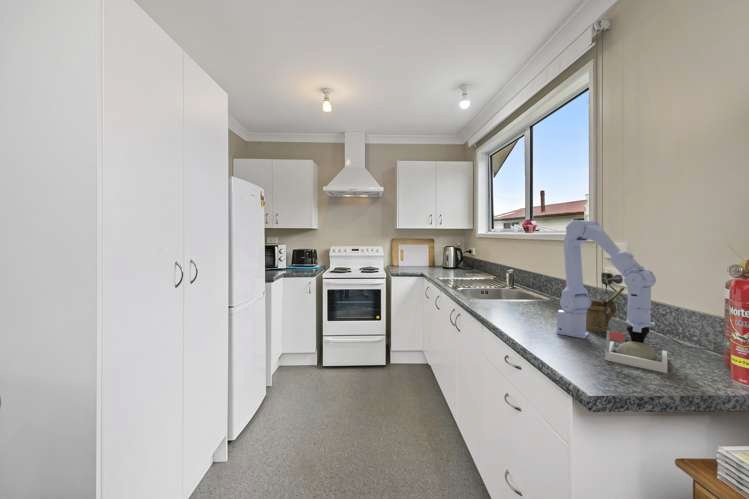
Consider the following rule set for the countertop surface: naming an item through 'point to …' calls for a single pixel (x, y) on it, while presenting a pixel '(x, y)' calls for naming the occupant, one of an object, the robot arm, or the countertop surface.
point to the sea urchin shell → (637, 350)
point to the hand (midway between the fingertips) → (637, 349)
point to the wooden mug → (601, 314)
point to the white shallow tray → (630, 359)
